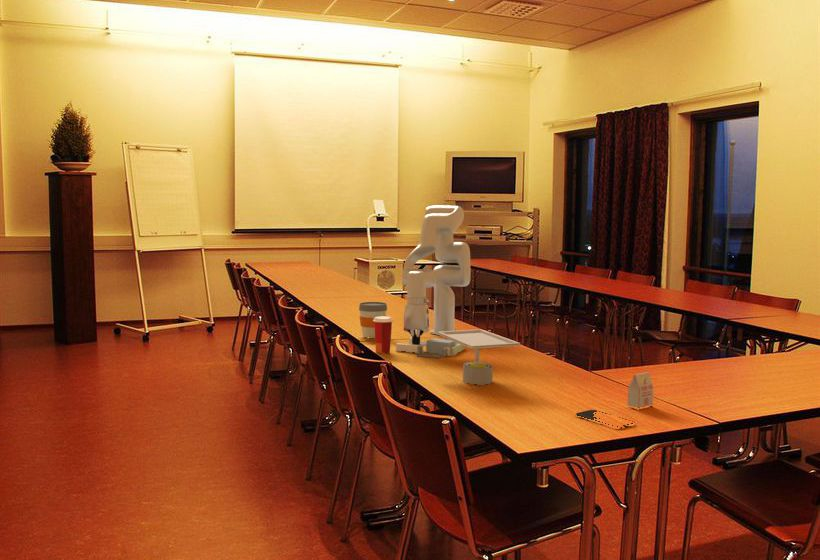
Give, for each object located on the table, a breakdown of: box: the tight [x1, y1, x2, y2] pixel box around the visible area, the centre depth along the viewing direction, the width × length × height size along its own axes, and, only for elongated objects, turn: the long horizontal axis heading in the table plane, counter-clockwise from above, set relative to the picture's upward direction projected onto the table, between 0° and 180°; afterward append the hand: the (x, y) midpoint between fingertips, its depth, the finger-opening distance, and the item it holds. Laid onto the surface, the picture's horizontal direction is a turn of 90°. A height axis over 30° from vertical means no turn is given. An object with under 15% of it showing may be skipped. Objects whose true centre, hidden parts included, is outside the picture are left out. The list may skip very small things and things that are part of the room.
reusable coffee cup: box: [358, 301, 388, 339], centre depth 319 cm, size 13×13×15 cm
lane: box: [395, 337, 466, 359], centre depth 290 cm, size 29×24×3 cm
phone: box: [575, 409, 636, 427], centre depth 195 cm, size 8×1×15 cm
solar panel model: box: [436, 328, 521, 386], centre depth 237 cm, size 28×17×15 cm, turn 20°
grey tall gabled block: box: [627, 371, 654, 408], centre depth 208 cm, size 4×7×10 cm, turn 126°
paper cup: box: [373, 315, 393, 354], centre depth 284 cm, size 8×8×14 cm
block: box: [425, 338, 456, 355], centre depth 286 cm, size 6×10×5 cm, turn 59°
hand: (416, 345), depth 293 cm, fingers closed
